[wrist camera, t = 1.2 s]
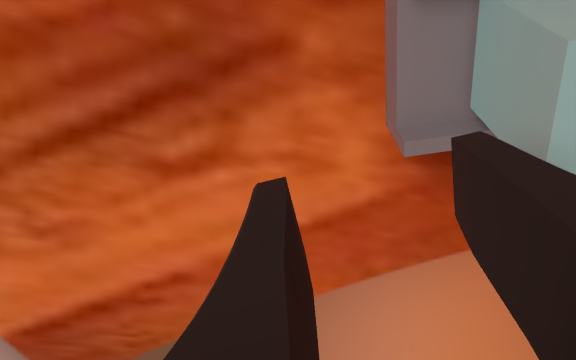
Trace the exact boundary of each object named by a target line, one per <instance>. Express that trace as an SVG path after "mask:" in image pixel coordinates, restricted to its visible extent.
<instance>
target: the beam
mask: <svg viewBox="0 0 576 360" xmlns="http://www.w3.org/2000/svg"><path fill="white" fill-rule="evenodd" d="M479 2H480V0H385V32H386V125H387V127H388V129H389V131H390V133H391V135H392V136H393V138H394V140H395V142H396V144H397V145H398V147H399V149H400V151H401V153H402V154H403V156H404V157H410V156H417V155H424V154H431V153H438V152H445V151H452V147H451V138H452V137H456V136H461V135H465V134H469V133H473V132H478V131H482V132H484V133H487V134H489V135H491V136H494V137H496V136H495V134H494V133H493V132H492V131H491V130H490V129H489V128H488V127H487V126H486V124H485V123H484V122H483V121H482V120H481V119H480V118H479V117H478V116H477V114H476V113H475V112H474V111H473V110H472V109H471V108H470V103H471V92H472V81H473V70H474V58H475V47H476V36H477V25H478V13H479ZM496 138H497V137H496Z"/></svg>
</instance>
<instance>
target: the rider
mask: <svg viewBox="0 0 576 360" xmlns="http://www.w3.org/2000/svg"><path fill="white" fill-rule="evenodd" d="M470 108H471V109H472V110H473V111H474V112H475V113H476V114H477V116H478V117H479V118H480V119H481V120H482V121H483V122H484V123H485V124H486V126H487V127H488V128H489V129H490V130H491V131H492V132H493V133H494V134H495V136H496V137H497V138H498V139H500V140H502V141H504V142H506V143H508V144H510V145H512V146H514V147H517V148H519V149H521V150H523V151H525V152H527V153H529V154H531V155H533V156H535V157H537V158H539V159H542V160H544V161H546V162H548V163H550V164H552V165H555V166H557V167H559V168H561V169H564V170H566V171H568V172H570V173H573V174H575V175H576V0H480V2H479V13H478V25H477V36H476V47H475V58H474V70H473V81H472V92H471V103H470Z"/></svg>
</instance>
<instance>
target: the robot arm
mask: <svg viewBox="0 0 576 360" xmlns="http://www.w3.org/2000/svg"><path fill="white" fill-rule="evenodd" d="M451 147H452V166H453V185H454V203H455V216H456V218H457V221H458V223H459V225H460V227H461V230H462V232H463V234H464V236H465V238H466V240H467V243H468V245H469V247H470V249H471V251H472V253H473V255H474V257H475V258H476V260H477V261H478V263H479V265H480V266H481V268H482V269H483V271H484V272H485V274H486V276H487V277H488V279H489V280H490V282H491V283H492V285H493V287H494V288H495V290H496V291H497V293H498V294H499V296H500V298H501V299H502V301H503V302H504V304H505V305H506V307H507V308H508V310H509V311H510V313H511V315H512V316H513V318H514V319H515V321H516V322H517V324H518V325H519V327H520V329H521V330H522V332H523V333H524V335H525V336H526V338H527V340H528V341H529V343H530V345H531V346H532V348H533V349H534V352H535V353H536V355H537V357H538V358H539V360H576V175H575V174H573V173H570V172H568V171H566V170H564V169H561V168H559V167H557V166H555V165H552V164H550V163H548V162H546V161H544V160H542V159H539V158H537V157H535V156H533V155H531V154H529V153H527V152H525V151H523V150H521V149H519V148H517V147H514V146H512V145H510V144H508V143H506V142H504V141H502V140H500V139H498V138H496V137H494V136H491V135H489V134H487V133H484V132H482V131H478V132H473V133H469V134H465V135H461V136H456V137H452V138H451ZM163 360H319V350H318V339H317V328H316V318H315V306H314V296H313V288H312V283H311V278H310V273H309V268H308V264H307V259H306V254H305V249H304V246H303V242H302V238H301V234H300V230H299V227H298V223H297V219H296V215H295V211H294V207H293V204H292V200H291V196H290V192H289V188H288V185H287V181H286V177H283V178H278V179H274V180H270V181H266V182H261V183H257V185H256V186H255V187H254V189H253V192H252V196H251V200H250V203H249V206H248V209H247V212H246V215H245V218H244V220H243V223H242V226H241V228H240V230H239V233H238V235H237V238H236V240H235V242H234V245H233V247H232V249H231V252H230V254H229V256H228V258H227V260H226V262H225V264H224V266H223V268H222V270H221V272H220V274H219V276H218V278H217V280H216V282H215V283H214V285H213V287H212V289H211V290H210V292H209V294H208V296H207V297H206V299H205V301H204V302H203V304H202V305H201V307H200V309H199V310H198V312H197V313H196V315H195V316H194V318H193V320H192V321H191V322H190V324H189V325H188V327H187V328H186V329H185V331H184V332H183V334H182V335H181V336H180V338H179V339H178V341H177V342H176V343H175V345H174V346H173V348H172V349H171V350H170V351H169V353H168V354H167V356H166V357H165V358H164V359H163Z"/></svg>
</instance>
